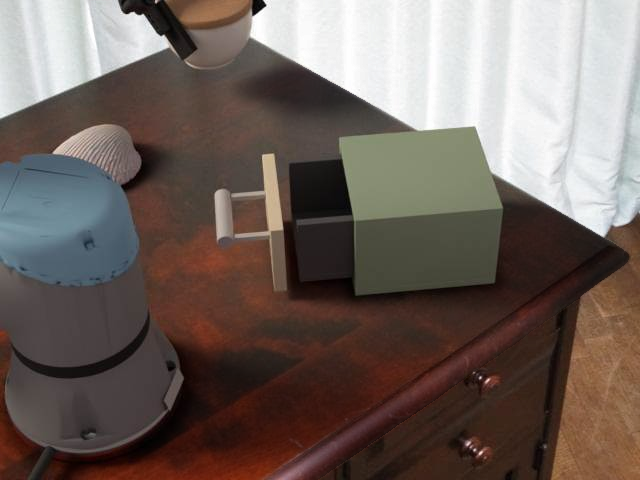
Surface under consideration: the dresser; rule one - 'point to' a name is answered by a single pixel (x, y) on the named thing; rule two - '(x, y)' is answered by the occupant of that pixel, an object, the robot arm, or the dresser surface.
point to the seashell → (105, 150)
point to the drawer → (300, 219)
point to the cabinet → (421, 210)
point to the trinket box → (213, 29)
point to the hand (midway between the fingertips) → (225, 32)
